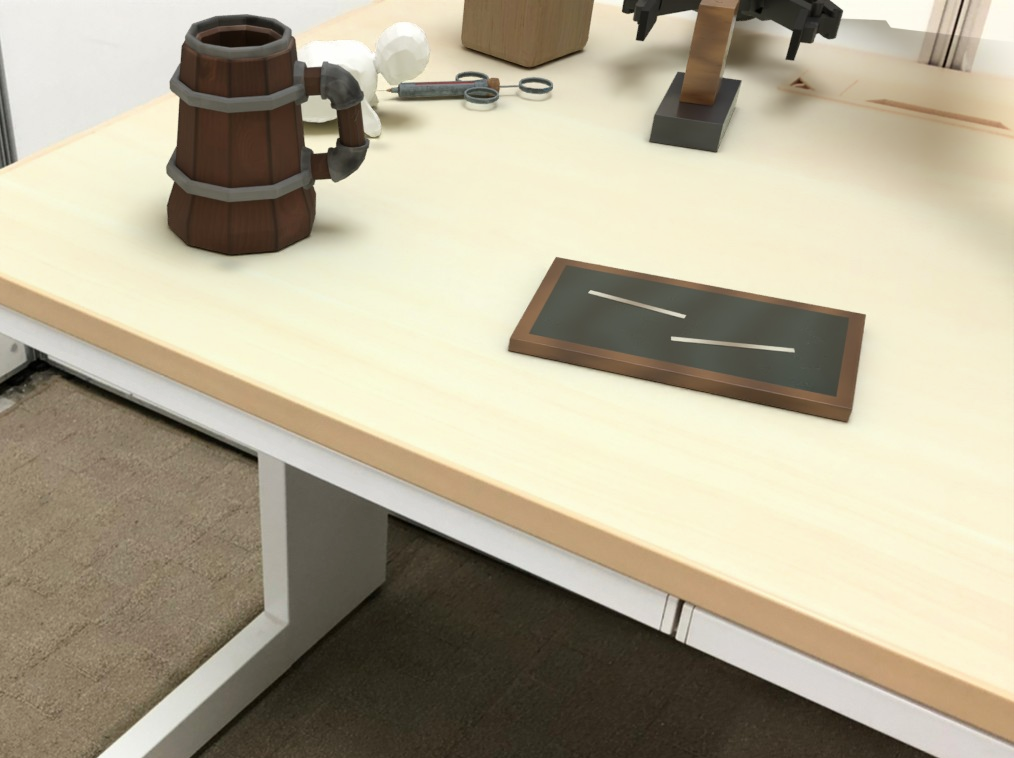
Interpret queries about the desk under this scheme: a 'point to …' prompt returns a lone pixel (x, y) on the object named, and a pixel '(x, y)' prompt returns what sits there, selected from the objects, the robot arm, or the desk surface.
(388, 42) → the white animal figurine
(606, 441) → the desk surface
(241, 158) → the mug
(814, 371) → the chalkboard
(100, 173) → the desk surface
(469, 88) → the syringe
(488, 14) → the wooden block
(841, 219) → the desk surface
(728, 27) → the eraser
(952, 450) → the desk surface
